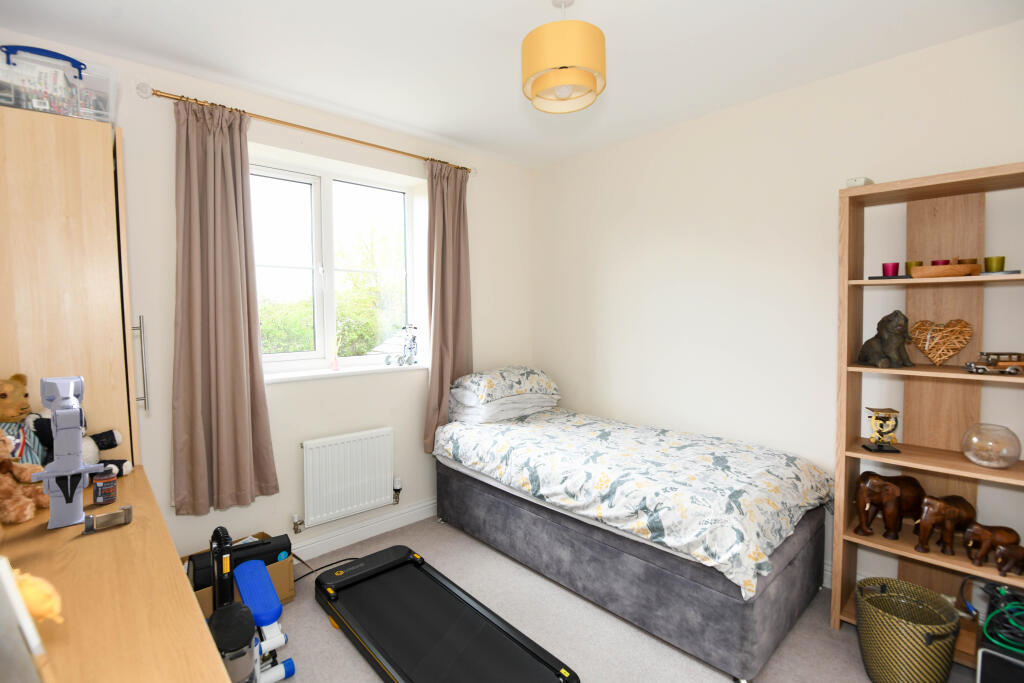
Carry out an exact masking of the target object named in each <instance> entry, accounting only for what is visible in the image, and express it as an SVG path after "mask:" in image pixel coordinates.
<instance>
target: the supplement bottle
mask: <svg viewBox="0 0 1024 683" xmlns="http://www.w3.org/2000/svg"><path fill="white" fill-rule="evenodd" d="M103 467H104V466H103ZM113 471H114V469H113V467H112V466H105V467H104V471H103V472H96V475H95V476H93V477H92V495H93V496H92V503H93V504H94V505H95V504H98V505H97V506H100V505H99V504H105V505H108V504H107V503H109V504H112V503H114V502H116V501H117V498H118V497H117V490H118V489H117V485H118V484H117V474H116V473H115V472H113ZM115 500H116V501H115ZM111 502H112V503H111Z"/></svg>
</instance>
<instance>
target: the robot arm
mask: <svg viewBox="0 0 1024 683" xmlns="http://www.w3.org/2000/svg"><path fill="white" fill-rule="evenodd" d="M39 386H40V387H39V388H40V389H39V392H40V399H41V401H40V403H41V405H42V408H44V409H49V410H50V425H51V426H50V428H51V432H52V437H53V461H52V462H50V463H49V464H47V465H46V466H45V467H44V469H43V470H42V471H39V472H32V473H31V474H30V479H31V480H30V481H31V483H35V482H37V481H42V492H43V494H44V495H46V496H48V497H49V518H48V524H47V528H46V529H47V530H52V529H57V528H58V529H59V528H63V527H67V526H73V525H78V524H82V523H85V521H84V517H85V516H86V512H85V511H84V502H83V498H84V496H83V493H84V489H87V487H89V474H91V473H97V472H103V471H104V463H96V464H87V463H86V461H85V460H83V429H84V426H85V412H84V409H83V407H82V406H81V407H80V405H81V404H82V403H83V400H84V393H85V381H84V377H83V376H82V375H78V376H77V375H76V376H56V377H52V376H51V377H45V376H44V377H41V378H40V379H39Z"/></svg>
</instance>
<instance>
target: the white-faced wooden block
mask: <svg viewBox="0 0 1024 683" xmlns="http://www.w3.org/2000/svg"><path fill="white" fill-rule="evenodd" d="M125 507H130V508H131V520H132V521H133V504H128V505H122V506H119V507H118V511H119V510H123V508H125Z"/></svg>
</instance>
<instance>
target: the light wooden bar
mask: <svg viewBox="0 0 1024 683" xmlns="http://www.w3.org/2000/svg"><path fill="white" fill-rule="evenodd" d="M129 522H130V523H132V521H131V508H130V507H125V508H123V510H119V509H118V510H115V511H110V512H106V513H101V514H96V515H95V528H96V529H97V530H99V529H103V528H108V527H112V526H117V525H120V524H121V525H122V524H128V523H129Z"/></svg>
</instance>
